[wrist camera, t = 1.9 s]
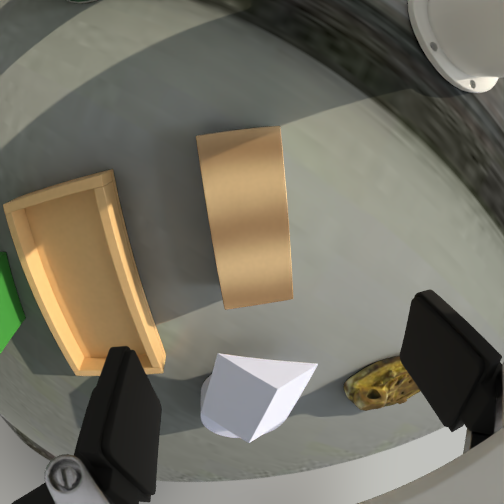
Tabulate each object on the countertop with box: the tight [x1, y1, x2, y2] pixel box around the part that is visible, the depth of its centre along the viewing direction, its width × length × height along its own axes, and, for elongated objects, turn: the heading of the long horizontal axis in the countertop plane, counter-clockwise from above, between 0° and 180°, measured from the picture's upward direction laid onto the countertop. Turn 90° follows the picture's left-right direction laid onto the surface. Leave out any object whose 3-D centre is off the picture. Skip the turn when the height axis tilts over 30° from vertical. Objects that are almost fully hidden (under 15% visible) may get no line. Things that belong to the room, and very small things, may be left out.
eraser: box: [196, 126, 293, 310], centre depth 21 cm, size 12×5×4 cm, turn 6°
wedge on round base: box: [201, 353, 318, 443], centre depth 26 cm, size 9×7×13 cm
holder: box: [3, 169, 166, 376], centre depth 22 cm, size 18×10×3 cm, turn 6°
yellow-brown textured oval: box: [344, 356, 420, 411], centre depth 31 cm, size 9×5×15 cm
